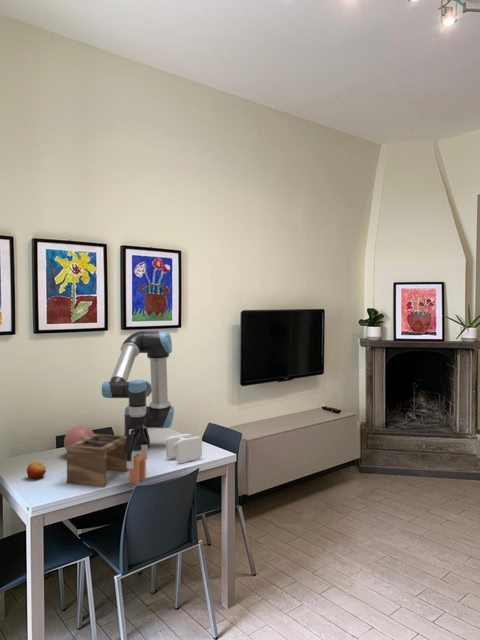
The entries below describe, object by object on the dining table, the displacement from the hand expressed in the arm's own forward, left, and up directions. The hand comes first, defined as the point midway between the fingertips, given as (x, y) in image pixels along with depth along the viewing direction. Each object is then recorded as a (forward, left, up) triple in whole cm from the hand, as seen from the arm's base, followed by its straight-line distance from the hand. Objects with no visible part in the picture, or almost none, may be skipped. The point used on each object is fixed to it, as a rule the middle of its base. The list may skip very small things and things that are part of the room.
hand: (137, 463), depth 209 cm
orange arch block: (0, 0, -8) cm, 8 cm away
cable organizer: (-33, +9, -8) cm, 35 cm away
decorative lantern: (-23, -43, -8) cm, 50 cm away
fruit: (+9, -45, -8) cm, 47 cm away
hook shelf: (0, -19, -8) cm, 20 cm away
